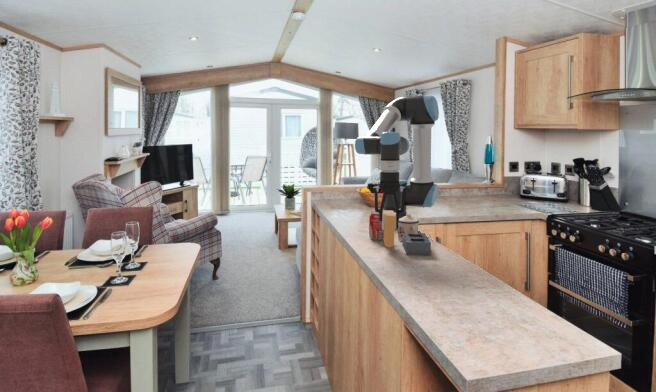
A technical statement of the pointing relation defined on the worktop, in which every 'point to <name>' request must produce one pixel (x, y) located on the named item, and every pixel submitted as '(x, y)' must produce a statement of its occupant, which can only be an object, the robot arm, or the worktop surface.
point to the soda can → (375, 227)
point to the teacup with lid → (407, 225)
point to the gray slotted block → (416, 244)
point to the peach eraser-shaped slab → (389, 228)
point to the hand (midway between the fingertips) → (388, 229)
